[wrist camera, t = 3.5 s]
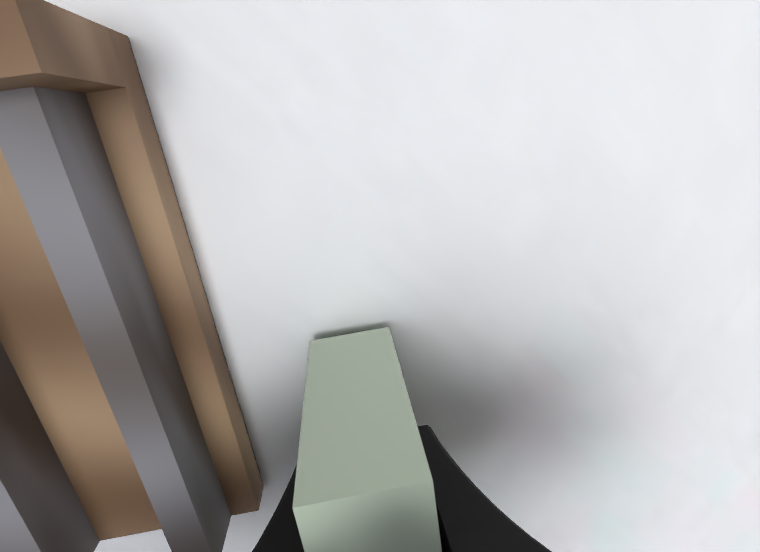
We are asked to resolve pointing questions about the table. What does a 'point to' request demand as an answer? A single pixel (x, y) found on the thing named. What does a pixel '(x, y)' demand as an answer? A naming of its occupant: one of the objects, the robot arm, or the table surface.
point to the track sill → (102, 311)
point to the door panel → (361, 453)
